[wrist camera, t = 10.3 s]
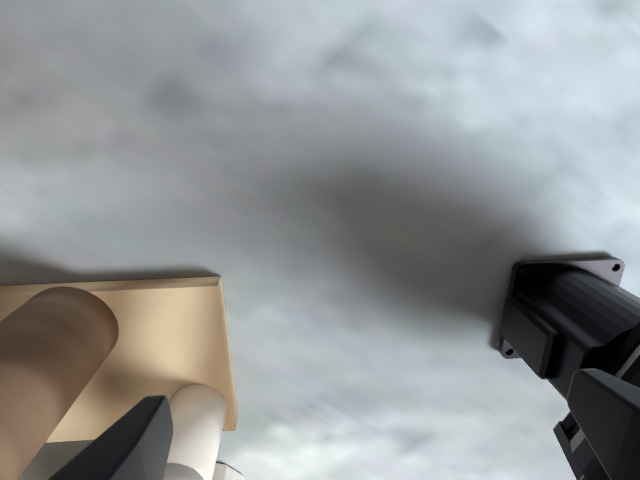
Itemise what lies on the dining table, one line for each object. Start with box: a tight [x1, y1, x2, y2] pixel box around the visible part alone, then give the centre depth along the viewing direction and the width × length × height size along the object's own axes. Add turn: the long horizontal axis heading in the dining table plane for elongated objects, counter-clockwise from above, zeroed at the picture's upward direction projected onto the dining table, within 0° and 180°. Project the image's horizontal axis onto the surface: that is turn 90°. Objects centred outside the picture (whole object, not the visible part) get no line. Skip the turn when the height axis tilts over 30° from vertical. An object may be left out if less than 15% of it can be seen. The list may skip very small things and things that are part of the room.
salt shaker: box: [163, 384, 227, 480], centre depth 20 cm, size 3×3×6 cm
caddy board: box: [0, 276, 238, 443], centre depth 22 cm, size 12×10×1 cm
